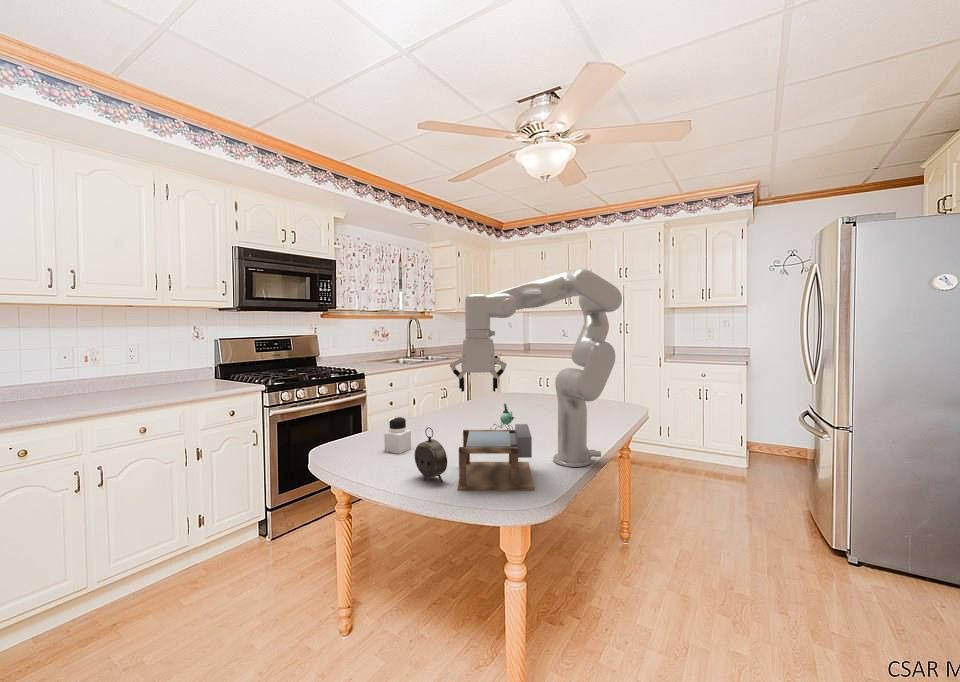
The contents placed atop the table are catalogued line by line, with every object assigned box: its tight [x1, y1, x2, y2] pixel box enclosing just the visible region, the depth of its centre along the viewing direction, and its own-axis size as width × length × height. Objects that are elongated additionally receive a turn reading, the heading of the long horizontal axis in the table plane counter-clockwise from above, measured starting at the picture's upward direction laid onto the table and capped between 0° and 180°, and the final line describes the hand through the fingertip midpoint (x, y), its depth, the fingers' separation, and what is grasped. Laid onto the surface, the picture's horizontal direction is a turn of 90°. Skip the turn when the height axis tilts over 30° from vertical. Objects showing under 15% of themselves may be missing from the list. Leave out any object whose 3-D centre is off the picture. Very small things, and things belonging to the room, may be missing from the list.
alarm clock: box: [414, 426, 448, 483], centre depth 135 cm, size 11×5×16 cm, turn 47°
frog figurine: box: [490, 403, 515, 430], centre depth 181 cm, size 10×18×15 cm, turn 101°
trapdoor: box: [466, 423, 533, 459], centre depth 137 cm, size 19×16×6 cm
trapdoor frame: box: [456, 429, 535, 491], centre depth 138 cm, size 22×21×12 cm
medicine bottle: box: [383, 416, 412, 455], centre depth 165 cm, size 7×7×12 cm
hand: (478, 390), depth 136 cm, fingers open, 9 cm apart
